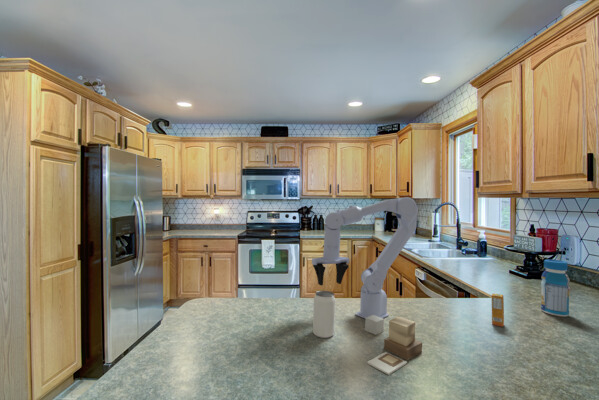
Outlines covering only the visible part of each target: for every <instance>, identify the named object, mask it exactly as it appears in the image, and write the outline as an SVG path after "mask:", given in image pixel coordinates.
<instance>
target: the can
mask: <svg viewBox="0 0 599 400" xmlns="http://www.w3.org/2000/svg"><path fill="white" fill-rule="evenodd" d="M314 294H315V295H314V297H313V311H312V312H313V314H312V316H313V317H312V333H313V334H314V336H315V337H318V338H321V339H329V338H331V337H333V336H334V335H335V323H336V320H335V318H336V297H335V293H334V292H332V291H329V290H318V291H316V292H315V293H314Z"/></svg>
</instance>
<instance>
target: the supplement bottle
mask: <svg viewBox="0 0 599 400" xmlns="http://www.w3.org/2000/svg"><path fill="white" fill-rule="evenodd" d="M568 266H569V265H568V262H567V261H564V260H558V259H557V260H556V259H544V260H543V267H544V269H545V270H544V271H543V272H542V274H541V281H540V287H541V296H540V297H541V302H540V303H541V304H540V310H541V311H542V312H543V313H545V314H547V315H551V316H556V317H569V316H570V290H571V285H570V283H571V280H570V278H569V277H570V276H569V275H568V274H567V273H566V272H568Z"/></svg>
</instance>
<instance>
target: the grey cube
mask: <svg viewBox="0 0 599 400" xmlns="http://www.w3.org/2000/svg"><path fill="white" fill-rule="evenodd" d="M364 319H365V318H364ZM364 325H365V326H364V330H365V331H366V332H368V333H370V334H373V335H376V336H377V335H380V334H382V333H383V332H384V330H385V326H384V325H385V319H384V318H380V317H378V316H375V315H371V316H369V317H366V319H365V324H364Z"/></svg>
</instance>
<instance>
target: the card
mask: <svg viewBox="0 0 599 400" xmlns="http://www.w3.org/2000/svg"><path fill="white" fill-rule="evenodd" d="M366 362H367V363H366V364H368V365H370V366H371V367H373V368H375V369H376V370H379V372H382V373H384V374H386V375H387V376H390V375H392V374H393V373H394V372H396V371H397V370H399V369H401V368H402V367H403V366H406V365H407V360H405V359H404V360H403V358H402V359H401V357H399V356H398V357H397V355H393V354H391V353H389V352H387V351H385V352H383V353H381V354H379V355H377V356H375V357H373V358H372V359H370V360H368V361H366Z"/></svg>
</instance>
